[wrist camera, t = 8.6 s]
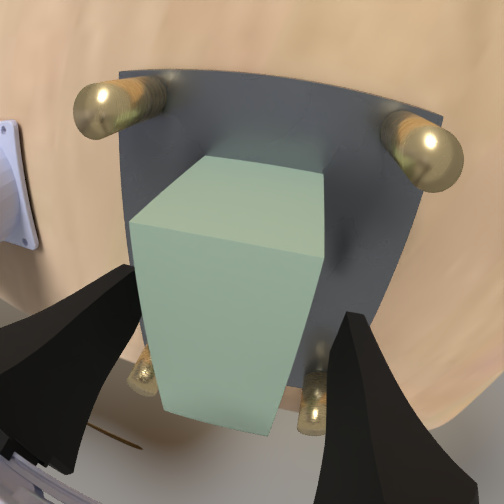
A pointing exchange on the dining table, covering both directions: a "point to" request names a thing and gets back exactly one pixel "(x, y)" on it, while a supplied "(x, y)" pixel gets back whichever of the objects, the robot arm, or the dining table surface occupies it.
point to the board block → (228, 286)
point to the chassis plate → (291, 156)
